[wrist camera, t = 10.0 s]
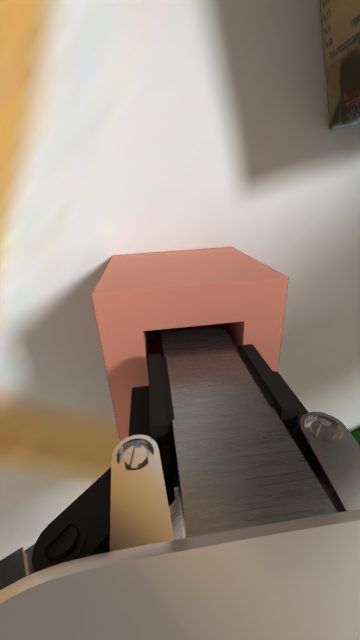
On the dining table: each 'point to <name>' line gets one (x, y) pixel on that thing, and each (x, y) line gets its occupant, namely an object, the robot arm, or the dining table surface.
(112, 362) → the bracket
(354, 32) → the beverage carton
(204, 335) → the gray square bar
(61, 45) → the dining table surface
